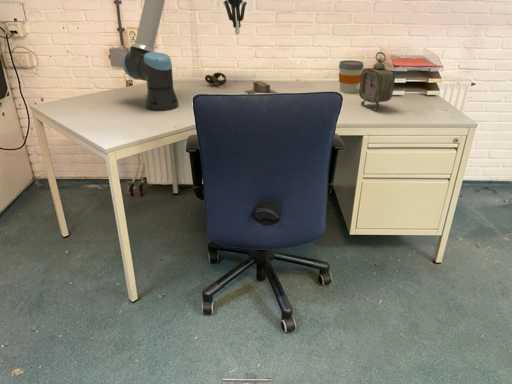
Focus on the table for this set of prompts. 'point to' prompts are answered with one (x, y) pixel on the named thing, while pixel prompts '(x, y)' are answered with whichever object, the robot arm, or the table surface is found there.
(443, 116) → the table surface
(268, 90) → the walnut block
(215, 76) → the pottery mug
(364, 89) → the tabletop clock
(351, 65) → the reusable coffee cup
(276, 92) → the rubber mat
